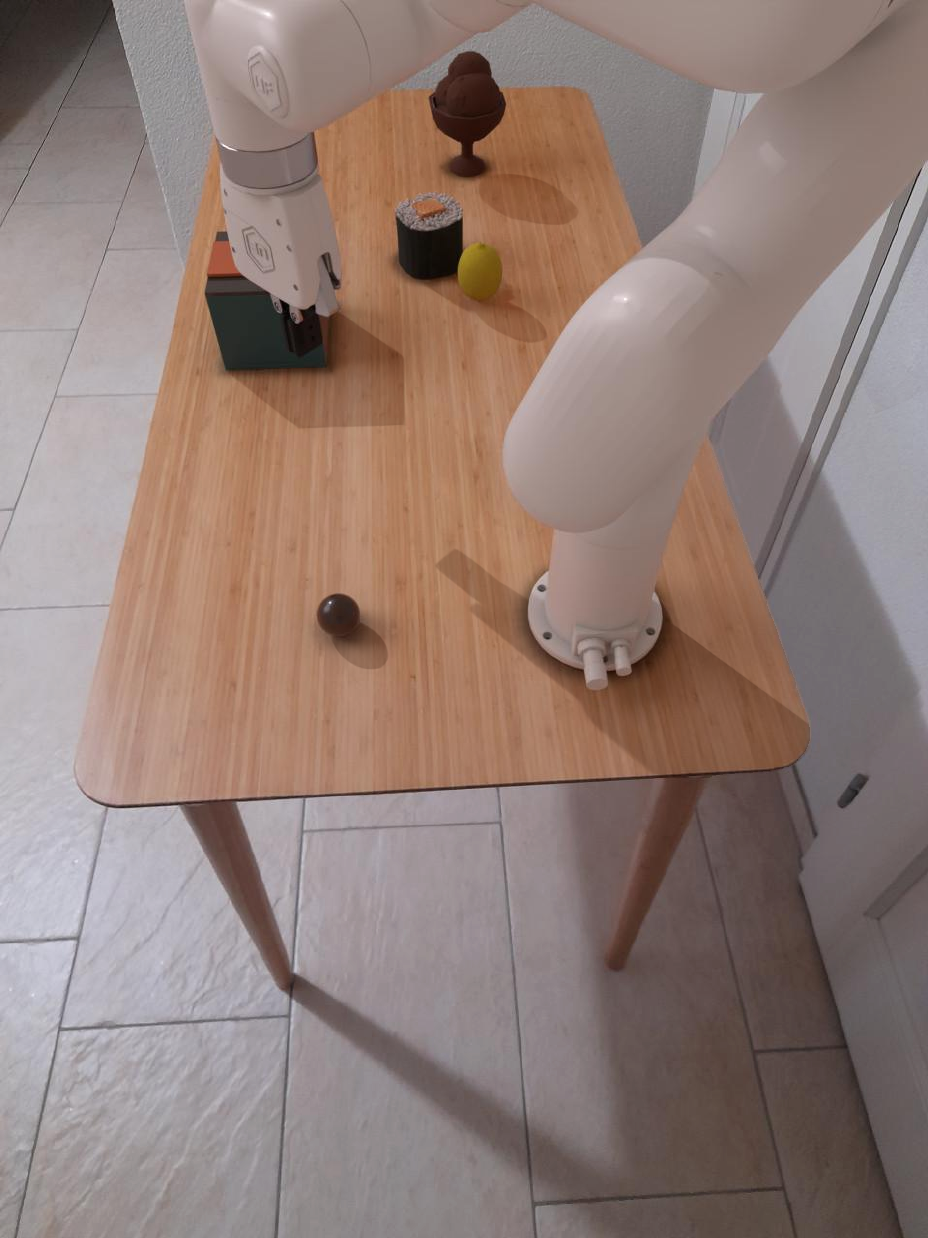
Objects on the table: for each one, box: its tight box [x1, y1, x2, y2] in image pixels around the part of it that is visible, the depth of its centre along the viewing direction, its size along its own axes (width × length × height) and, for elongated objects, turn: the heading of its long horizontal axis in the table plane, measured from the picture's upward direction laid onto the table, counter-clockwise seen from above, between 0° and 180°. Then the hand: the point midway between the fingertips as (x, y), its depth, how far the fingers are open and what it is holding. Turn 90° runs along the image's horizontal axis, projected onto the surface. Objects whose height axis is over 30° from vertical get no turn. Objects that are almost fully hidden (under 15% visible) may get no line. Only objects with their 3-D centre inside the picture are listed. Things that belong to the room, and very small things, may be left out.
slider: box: [206, 241, 243, 277], centre depth 99 cm, size 6×6×2 cm
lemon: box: [457, 241, 503, 303], centre depth 109 cm, size 6×6×8 cm
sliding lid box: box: [203, 230, 331, 371], centre depth 104 cm, size 12×12×10 cm
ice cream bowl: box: [428, 50, 507, 178], centre depth 125 cm, size 11×11×15 cm
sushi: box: [393, 191, 464, 281], centre depth 114 cm, size 8×8×8 cm
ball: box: [316, 592, 361, 637], centre depth 82 cm, size 4×4×4 cm
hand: (305, 346), depth 84 cm, fingers closed
